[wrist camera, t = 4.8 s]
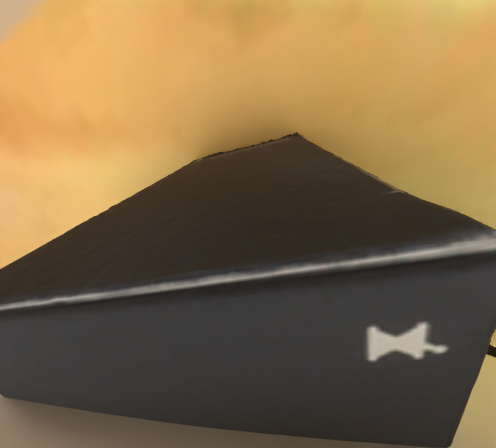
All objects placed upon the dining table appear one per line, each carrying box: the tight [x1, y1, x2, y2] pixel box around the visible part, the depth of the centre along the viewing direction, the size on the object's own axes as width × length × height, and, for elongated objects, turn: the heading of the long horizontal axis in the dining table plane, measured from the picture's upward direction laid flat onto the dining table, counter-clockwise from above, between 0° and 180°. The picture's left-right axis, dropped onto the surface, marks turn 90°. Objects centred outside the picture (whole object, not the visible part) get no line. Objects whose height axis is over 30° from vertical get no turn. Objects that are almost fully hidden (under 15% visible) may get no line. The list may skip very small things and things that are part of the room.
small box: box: [0, 132, 496, 448], centre depth 8 cm, size 11×6×10 cm, turn 14°
